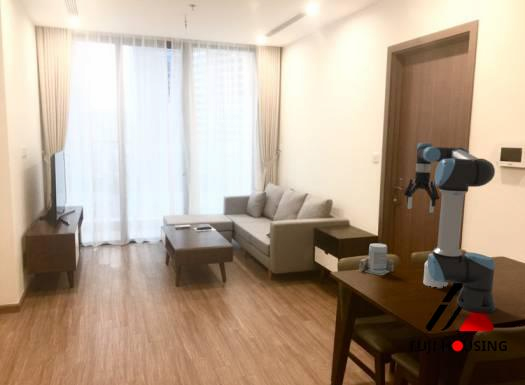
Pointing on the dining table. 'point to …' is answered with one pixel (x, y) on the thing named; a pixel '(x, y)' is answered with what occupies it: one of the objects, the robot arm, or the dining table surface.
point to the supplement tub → (377, 258)
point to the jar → (429, 280)
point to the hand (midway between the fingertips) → (420, 210)
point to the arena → (365, 264)
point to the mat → (377, 273)
